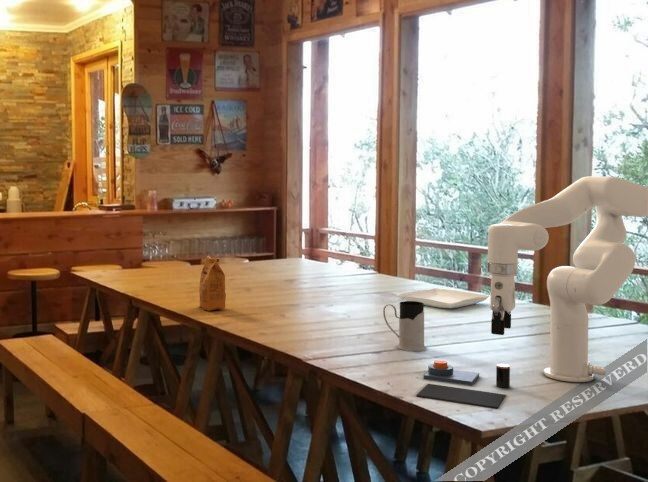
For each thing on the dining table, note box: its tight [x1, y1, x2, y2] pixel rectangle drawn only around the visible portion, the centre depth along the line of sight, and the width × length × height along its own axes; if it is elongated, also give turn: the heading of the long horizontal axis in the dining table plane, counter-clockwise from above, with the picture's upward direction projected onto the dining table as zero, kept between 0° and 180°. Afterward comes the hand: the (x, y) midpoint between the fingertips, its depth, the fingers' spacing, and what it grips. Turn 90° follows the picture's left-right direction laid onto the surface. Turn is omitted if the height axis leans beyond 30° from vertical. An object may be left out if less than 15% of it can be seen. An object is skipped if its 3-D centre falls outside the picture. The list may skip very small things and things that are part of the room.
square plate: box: [396, 287, 490, 309], centre depth 336 cm, size 27×27×4 cm
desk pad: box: [416, 383, 507, 410], centre depth 210 cm, size 20×12×1 cm, turn 56°
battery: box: [495, 363, 511, 390], centre depth 217 cm, size 3×3×6 cm
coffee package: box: [198, 255, 227, 312], centre depth 334 cm, size 10×12×22 cm
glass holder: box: [382, 300, 427, 352], centre depth 263 cm, size 9×14×15 cm, turn 48°
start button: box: [433, 359, 448, 369], centre depth 228 cm, size 4×4×2 cm
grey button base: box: [423, 363, 480, 387], centre depth 226 cm, size 13×10×3 cm
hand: (501, 331), depth 217 cm, fingers open, 9 cm apart
